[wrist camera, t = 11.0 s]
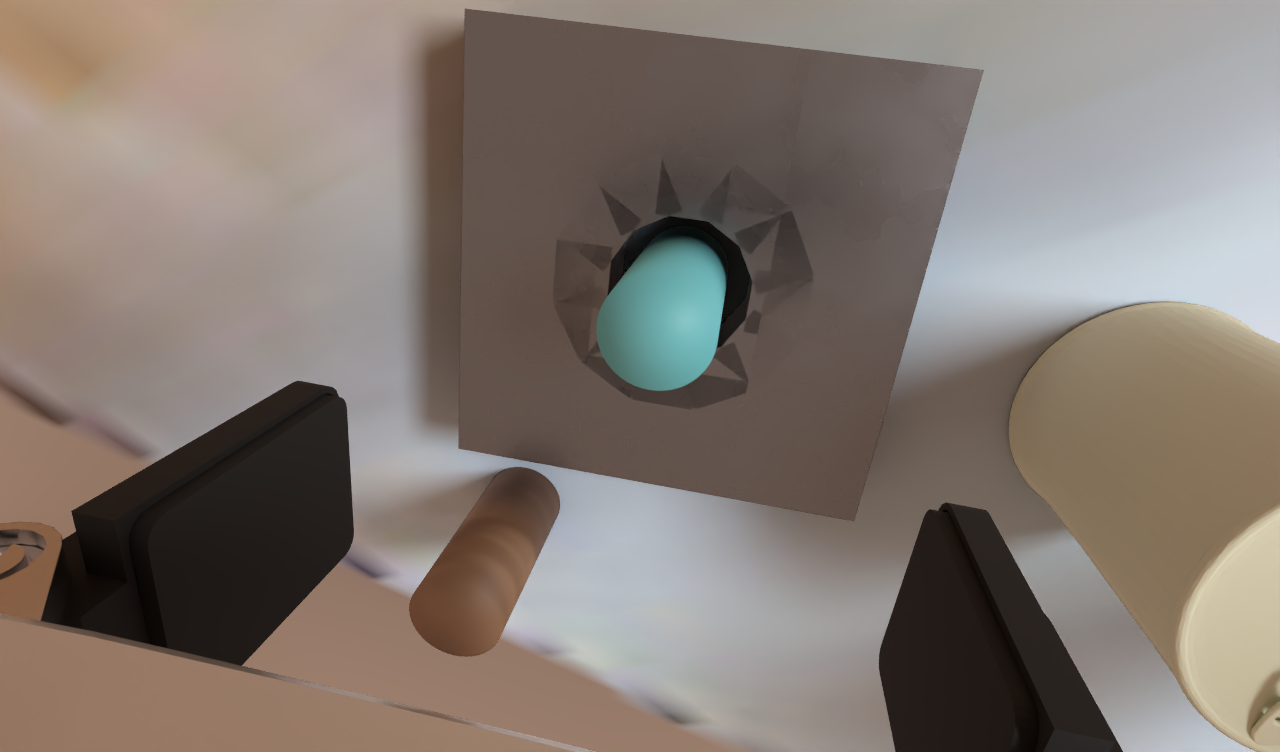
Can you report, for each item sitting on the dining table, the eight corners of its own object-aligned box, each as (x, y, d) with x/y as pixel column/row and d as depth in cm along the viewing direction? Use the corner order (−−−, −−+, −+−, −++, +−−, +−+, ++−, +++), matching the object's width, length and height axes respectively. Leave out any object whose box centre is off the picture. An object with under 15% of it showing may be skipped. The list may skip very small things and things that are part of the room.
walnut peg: (562, 474, 31) (503, 590, 24) (557, 537, 32) (499, 665, 25) (489, 461, 31) (408, 570, 24) (487, 523, 33) (410, 645, 25)
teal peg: (735, 233, 26) (727, 284, 18) (720, 320, 27) (707, 399, 20) (645, 220, 26) (602, 264, 19) (634, 306, 27) (591, 379, 20)
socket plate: (955, 74, 23) (983, 70, 20) (844, 481, 29) (854, 521, 26) (497, 19, 24) (464, 8, 21) (485, 417, 30) (458, 448, 28)
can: (959, 460, 28) (1096, 693, 17) (1109, 258, 24) (1411, 388, 13) (1159, 553, 28) (1426, 844, 17) (1339, 367, 24) (1827, 585, 13)
